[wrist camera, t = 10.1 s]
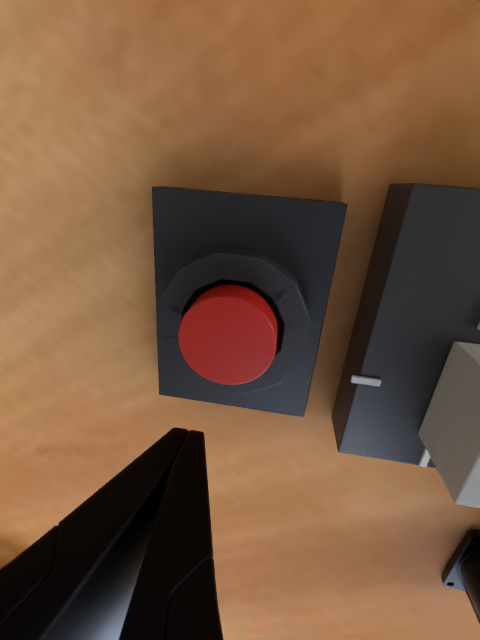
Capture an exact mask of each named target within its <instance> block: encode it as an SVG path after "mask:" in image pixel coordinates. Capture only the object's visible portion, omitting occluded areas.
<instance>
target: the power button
mask: <svg viewBox="0 0 480 640" xmlns="http://www.w3.org/2000/svg"><path fill="white" fill-rule="evenodd" d="M277 331H278V327H277V320H276V316H275V313H274V311H273V309H272V308H271V306H270V305H269V303H268V302H267V301H266V300H265V299H264V298H263V297H262V296H261V295H260V294H258V293H257V292H255V291H253V290H251V289H249V288H247V287H243V286H239V285H230V284H229V285H220V286H216V287H214V288H211V289H209V290H207V291H206V292H204V293H203V294H202V295H201V296H199V297H198V299H197V300H196V301H195V302H194V304H193V305H192V306H191V307H190V309H189V310H188V311H187V312H186V314H185V315H184V317H183V319H182V321H181V323H180V327H179V333H178V339H179V346H180V350H181V352H182V355H183V357H184V359H185V360H186V362H187V363H188V364H189V365H190V367H191V368H192V369H193V370H194V371H195V372H197V373H198V374H199V375H201V376H202V377H204V378H206V379H208V380H210V381H213V382H216V383H220V384H226V385H237V384H243V383H247V382H250V381H252V380H254V379H256V378H258V377H259V376H260V375H262V374H263V373H264V372H265V371H266V370H267V369H268V368H269V366H270V365H271V363H272V361H273V359H274V356H275V352H276V345H277Z"/></svg>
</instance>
